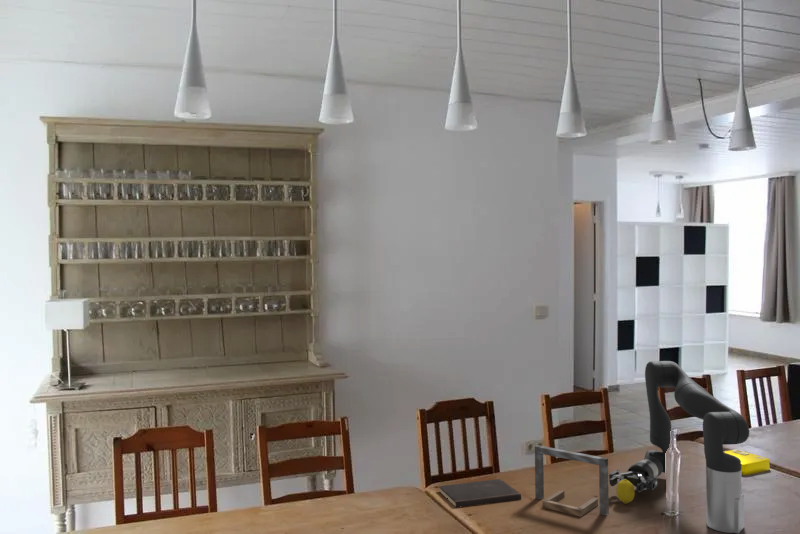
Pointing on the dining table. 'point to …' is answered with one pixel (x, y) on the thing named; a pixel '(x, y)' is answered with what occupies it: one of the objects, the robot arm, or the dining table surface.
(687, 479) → the dining table surface
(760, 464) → the yellow flat square block
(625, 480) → the lemon
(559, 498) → the keeper pocket
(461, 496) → the hardcover book
